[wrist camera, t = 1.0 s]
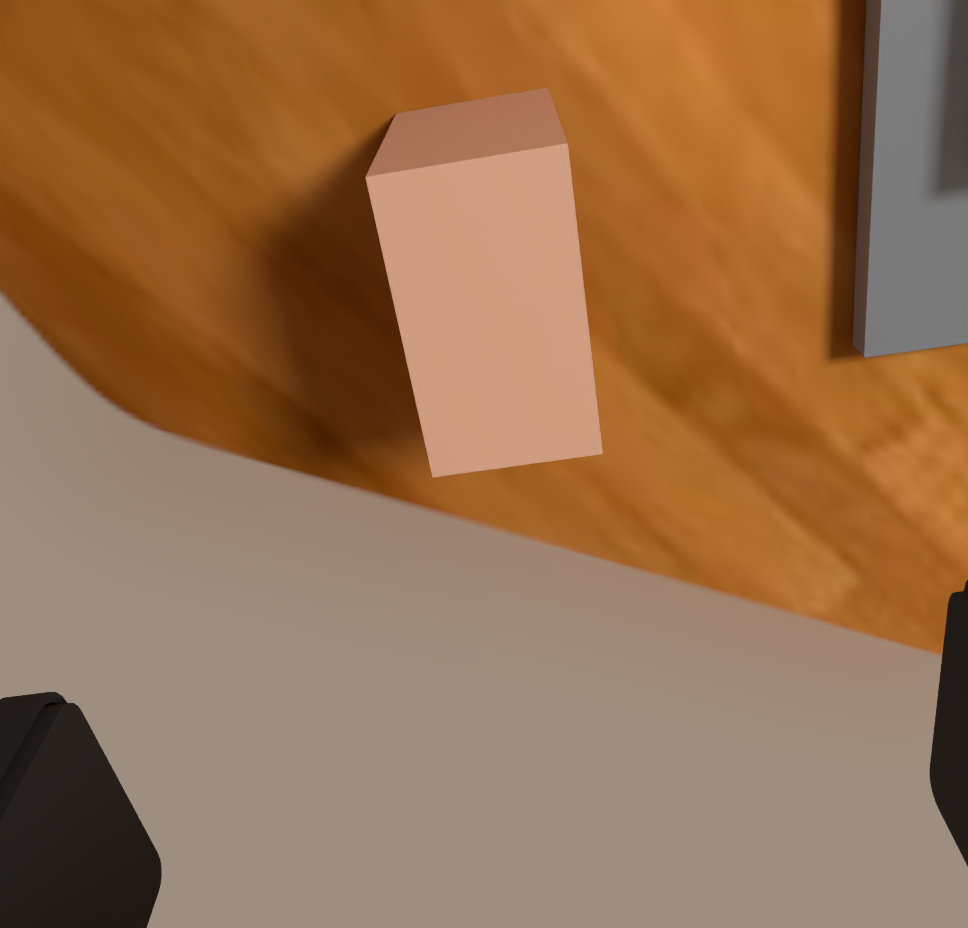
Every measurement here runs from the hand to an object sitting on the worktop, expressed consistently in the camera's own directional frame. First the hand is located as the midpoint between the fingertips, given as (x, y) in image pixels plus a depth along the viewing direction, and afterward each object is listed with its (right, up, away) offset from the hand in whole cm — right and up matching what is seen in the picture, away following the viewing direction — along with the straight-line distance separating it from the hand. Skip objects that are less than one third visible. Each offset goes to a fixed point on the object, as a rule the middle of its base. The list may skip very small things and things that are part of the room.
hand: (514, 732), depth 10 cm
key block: (0, +9, +16) cm, 18 cm away
